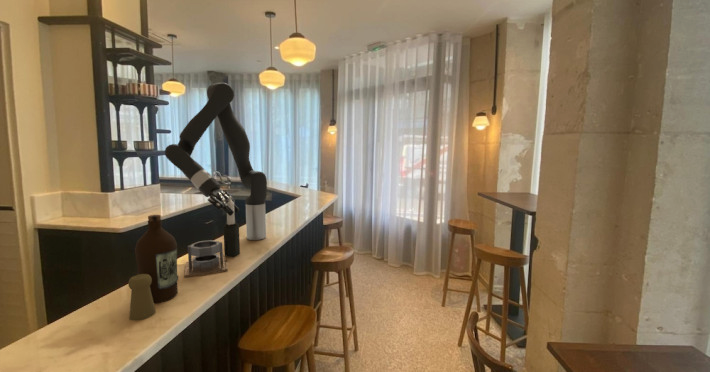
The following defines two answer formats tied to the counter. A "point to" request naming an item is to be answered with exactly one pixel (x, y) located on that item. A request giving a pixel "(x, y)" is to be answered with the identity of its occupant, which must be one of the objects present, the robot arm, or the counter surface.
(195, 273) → the collar stand
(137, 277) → the cork
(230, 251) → the bottle
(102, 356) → the counter surface
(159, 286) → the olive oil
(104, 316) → the counter surface
